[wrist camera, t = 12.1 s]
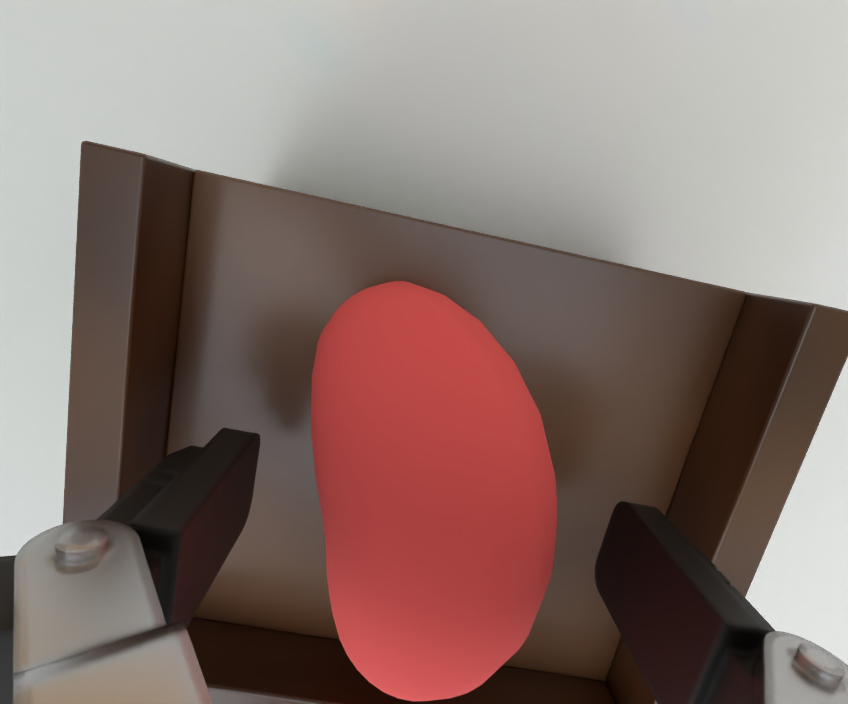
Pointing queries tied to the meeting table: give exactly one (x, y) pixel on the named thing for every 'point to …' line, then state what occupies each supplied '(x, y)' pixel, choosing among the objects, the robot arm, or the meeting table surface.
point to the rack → (511, 327)
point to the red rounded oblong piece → (428, 492)
